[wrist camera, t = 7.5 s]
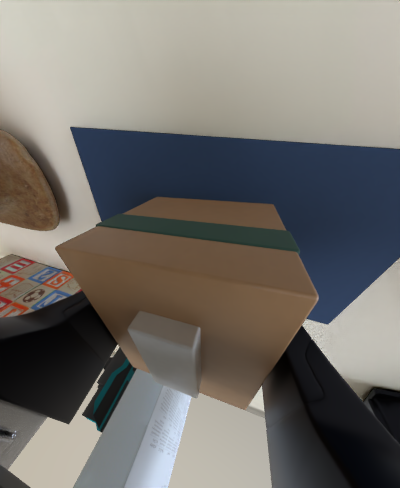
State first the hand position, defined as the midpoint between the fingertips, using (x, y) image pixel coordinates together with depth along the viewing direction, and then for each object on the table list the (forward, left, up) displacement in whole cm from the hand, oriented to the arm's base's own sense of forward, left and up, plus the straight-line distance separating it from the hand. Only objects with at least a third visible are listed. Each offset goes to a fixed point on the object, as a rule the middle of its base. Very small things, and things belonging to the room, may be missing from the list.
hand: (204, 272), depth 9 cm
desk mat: (0, 0, -5) cm, 5 cm away
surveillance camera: (+26, +24, -5) cm, 36 cm away
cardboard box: (0, 0, -1) cm, 1 cm away
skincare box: (+14, +27, -5) cm, 31 cm away
